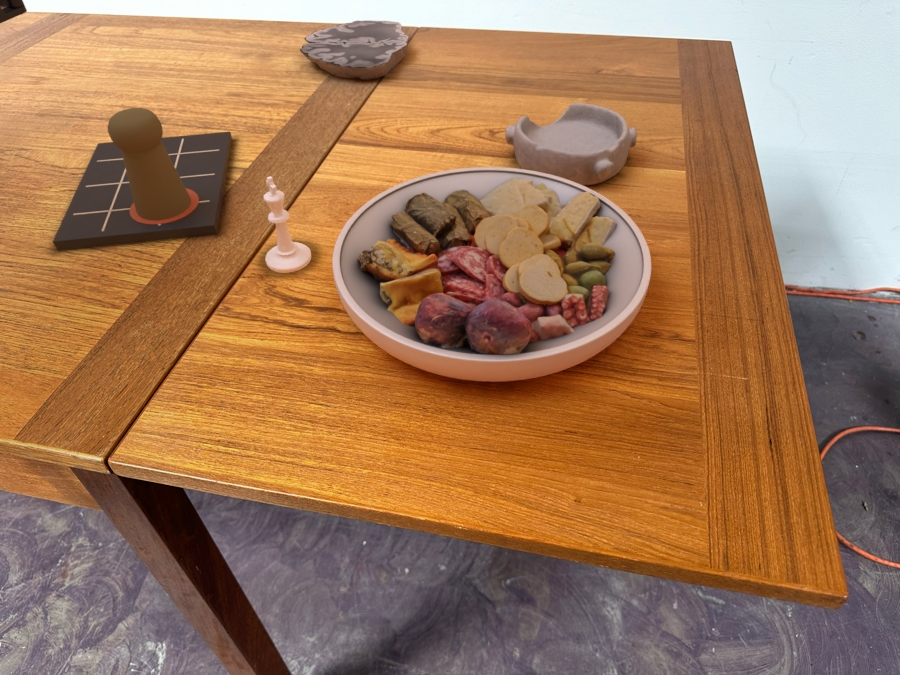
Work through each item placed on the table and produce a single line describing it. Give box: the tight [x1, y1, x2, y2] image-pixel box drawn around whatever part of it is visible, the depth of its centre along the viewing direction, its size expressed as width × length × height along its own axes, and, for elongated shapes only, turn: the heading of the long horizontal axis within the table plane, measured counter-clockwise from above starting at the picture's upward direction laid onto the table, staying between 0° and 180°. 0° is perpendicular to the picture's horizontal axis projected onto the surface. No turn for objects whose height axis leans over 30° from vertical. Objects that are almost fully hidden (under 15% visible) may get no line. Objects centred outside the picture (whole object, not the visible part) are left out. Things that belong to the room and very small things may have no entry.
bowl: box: [331, 166, 652, 383], centre depth 64 cm, size 30×30×8 cm
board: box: [52, 131, 233, 252], centre depth 80 cm, size 17×22×2 cm
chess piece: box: [263, 175, 312, 274], centre depth 67 cm, size 5×5×10 cm
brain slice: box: [299, 20, 410, 81], centre depth 107 cm, size 20×17×3 cm
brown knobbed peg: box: [107, 107, 191, 220], centre depth 72 cm, size 6×6×11 cm
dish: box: [504, 102, 638, 186], centre depth 82 cm, size 14×14×5 cm
